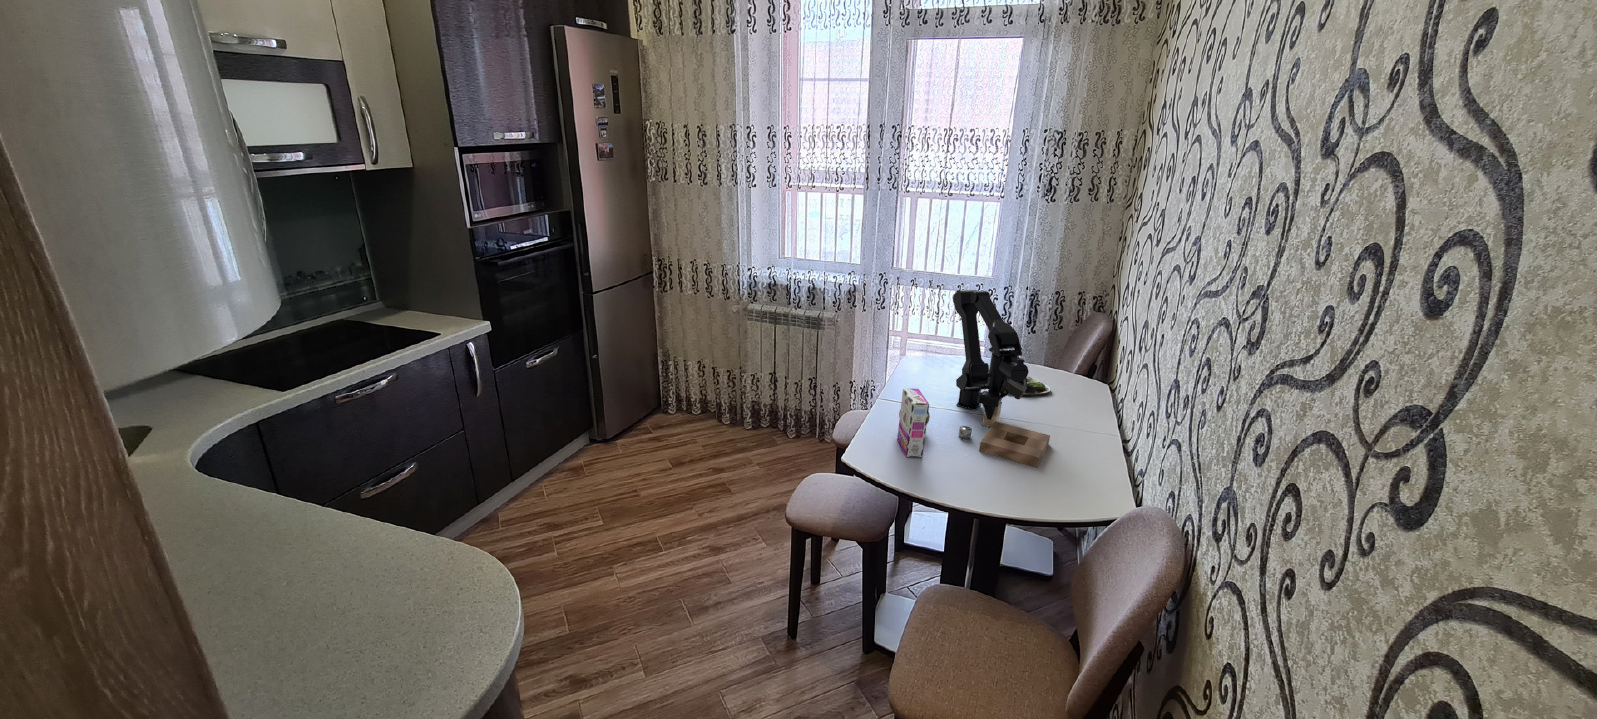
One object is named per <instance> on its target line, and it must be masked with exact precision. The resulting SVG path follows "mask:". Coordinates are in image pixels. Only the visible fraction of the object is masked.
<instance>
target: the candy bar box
mask: <svg viewBox="0 0 1597 719" xmlns="http://www.w3.org/2000/svg"><path fill="white" fill-rule="evenodd" d="M901 396H902V397H901V403H900V404H901V405H900V409H901V411H900V410H899V412H900V417H899V420H898V422H899V423H898V429H897V430H898V431H897V441H898V444H899V445H900V447H901V449H902V451H903V454H904V456H905V457H906V458H917V459H918V458H923V456H924V447H925V440H926V433H927V426H928V423H927V419H928V411H930V403H929V401H928V400H927V399H926V397H925V396H924V394H923V393H922V392H921V390H920V389H919V388H902V395H901Z"/></svg>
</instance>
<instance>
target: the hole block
mask: <svg viewBox="0 0 1597 719" xmlns="http://www.w3.org/2000/svg"><path fill="white" fill-rule="evenodd" d="M1050 438H1051V435H1050V434H1046V433H1042V432H1038V431H1035V430H1031V429H1027V428H1023V427H1019V426H1014V425H1012V424H1008V423H1003V422H1000V421H999V422H996V421H995V422H994V423H993V425H992V426H991V427H990V428H989V429H988V430H987V432H986V433H985V434H984V436H983V438H982V439H981V440H980V442H979V449H978V451H979V452H981V453H984V454H988V455H992V456H996V457H998V458H999V457H1000V458H1003V459H1005V460H1009V461H1014V462H1016V463H1020V464H1024V465H1027V466H1030V467H1031V466H1032V467H1035V468H1038V467H1039V464H1040V462H1041V461H1042V458H1044V454H1045V452H1046V450H1047V448H1048V446H1049V445H1050V444H1049V443H1050Z"/></svg>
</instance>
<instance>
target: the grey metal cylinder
mask: <svg viewBox="0 0 1597 719" xmlns="http://www.w3.org/2000/svg"><path fill="white" fill-rule="evenodd" d="M972 432H973V428H972V427H971V426H969V425H961V426H959V430H958V436H957V437H958V438H959V439H960V440H962V441H970V440H971V439H972Z"/></svg>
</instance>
